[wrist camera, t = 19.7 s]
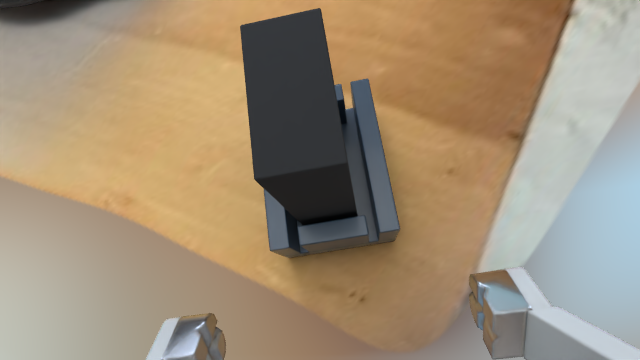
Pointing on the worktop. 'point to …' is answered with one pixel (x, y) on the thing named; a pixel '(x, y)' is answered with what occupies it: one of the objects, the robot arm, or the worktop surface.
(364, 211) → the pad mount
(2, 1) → the casserole
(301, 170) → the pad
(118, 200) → the worktop surface
